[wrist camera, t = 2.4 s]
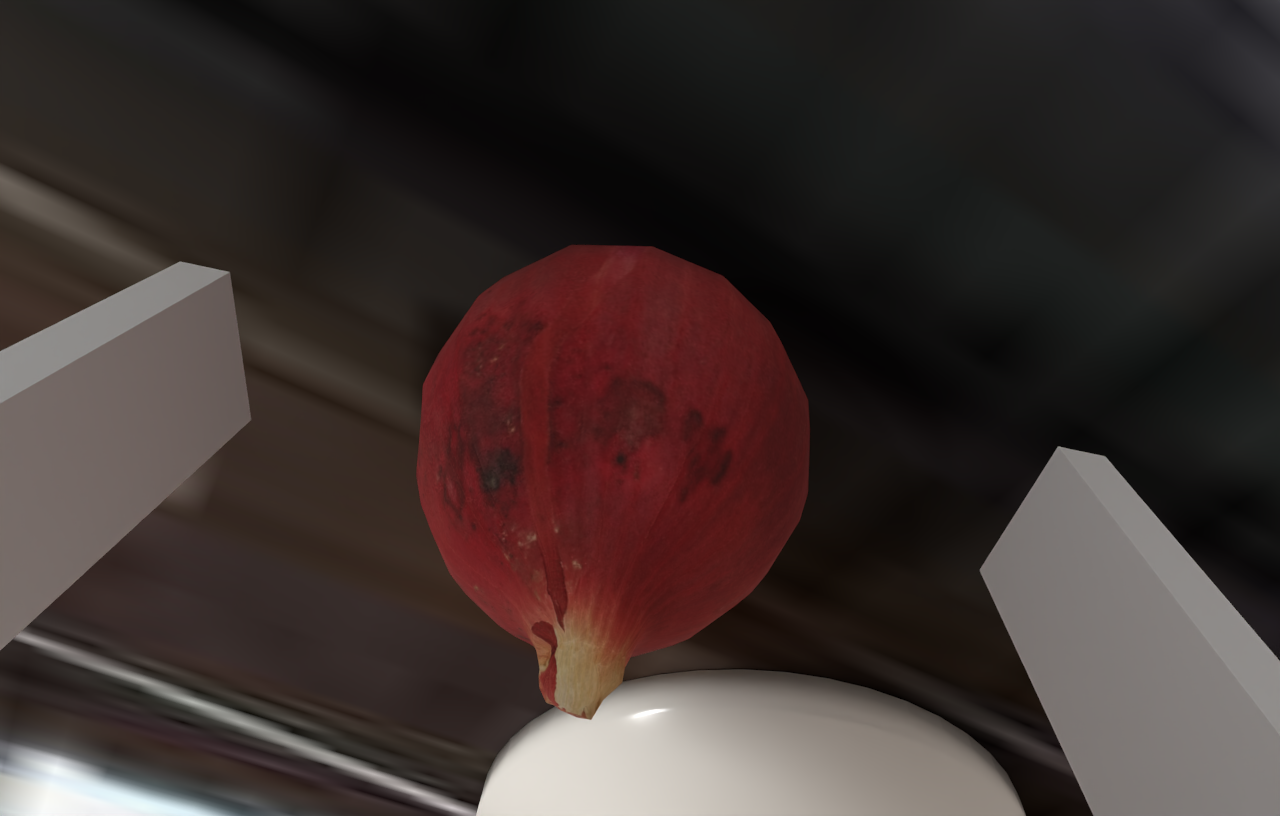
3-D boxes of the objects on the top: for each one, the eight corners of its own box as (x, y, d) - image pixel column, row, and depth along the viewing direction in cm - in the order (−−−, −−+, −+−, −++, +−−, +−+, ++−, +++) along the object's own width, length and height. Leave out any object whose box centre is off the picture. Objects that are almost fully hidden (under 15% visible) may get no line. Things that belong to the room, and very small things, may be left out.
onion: (436, 272, 13) (150, 577, 6) (706, 126, 11) (706, 340, 5) (586, 486, 16) (496, 867, 9) (826, 396, 14) (940, 788, 7)
